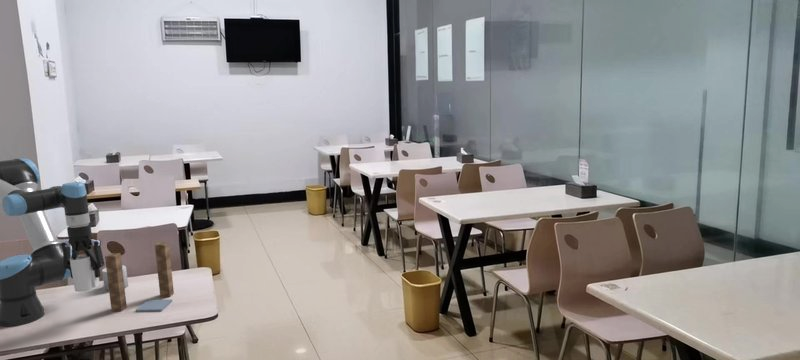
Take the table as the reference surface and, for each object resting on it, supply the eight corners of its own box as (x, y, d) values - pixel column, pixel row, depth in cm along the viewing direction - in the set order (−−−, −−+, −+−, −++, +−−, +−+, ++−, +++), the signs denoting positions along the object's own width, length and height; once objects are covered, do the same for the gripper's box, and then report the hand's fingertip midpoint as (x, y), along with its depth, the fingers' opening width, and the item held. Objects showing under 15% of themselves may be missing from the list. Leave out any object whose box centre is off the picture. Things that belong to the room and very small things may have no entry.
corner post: (111, 311, 225) (104, 256, 221) (116, 307, 229) (110, 253, 225) (121, 311, 225) (115, 256, 221) (126, 307, 228) (120, 253, 225)
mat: (135, 311, 223) (135, 309, 223) (147, 301, 233) (147, 300, 233) (161, 311, 223) (161, 309, 223) (172, 301, 233) (172, 299, 233)
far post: (160, 297, 238) (154, 245, 234) (164, 293, 242) (159, 242, 238) (170, 296, 238) (164, 245, 234) (173, 293, 242) (168, 242, 238)
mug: (85, 292, 208) (80, 260, 207) (69, 291, 210) (65, 259, 208) (105, 283, 218) (101, 252, 216) (91, 282, 220) (86, 251, 218)
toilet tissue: (125, 279, 261) (123, 261, 259) (129, 288, 250) (127, 269, 248) (102, 284, 256) (100, 265, 255) (105, 293, 245) (103, 273, 243)
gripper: (45, 228, 207) (55, 290, 211) (99, 226, 206) (107, 288, 210) (59, 223, 215) (67, 283, 218) (110, 221, 214) (118, 281, 217)
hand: (87, 286), depth 214 cm, fingers closed on mug, 6 cm apart
